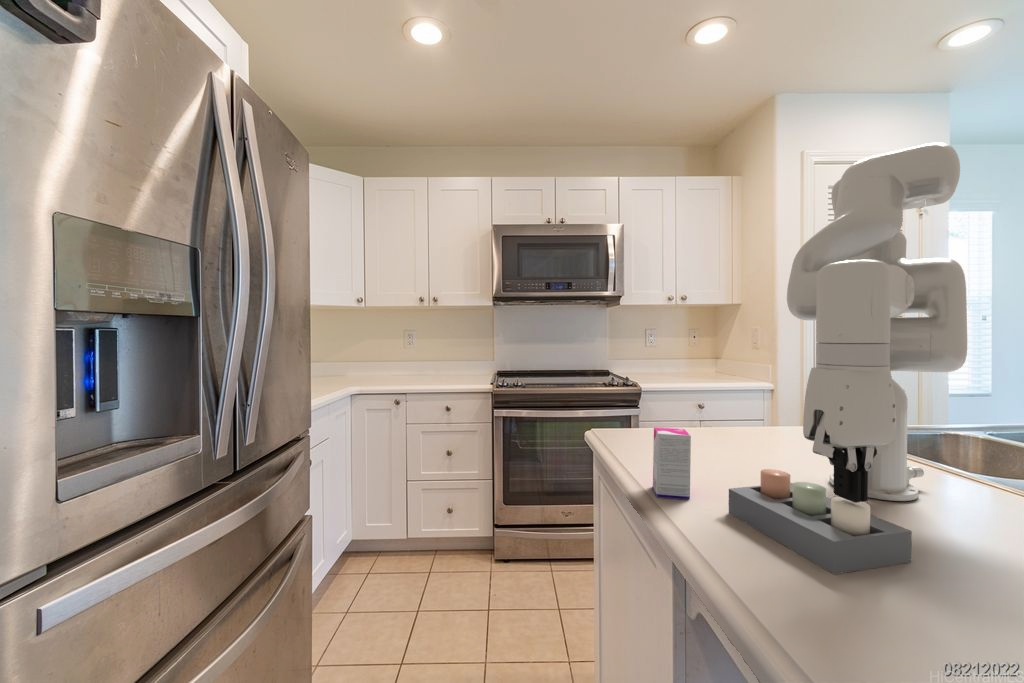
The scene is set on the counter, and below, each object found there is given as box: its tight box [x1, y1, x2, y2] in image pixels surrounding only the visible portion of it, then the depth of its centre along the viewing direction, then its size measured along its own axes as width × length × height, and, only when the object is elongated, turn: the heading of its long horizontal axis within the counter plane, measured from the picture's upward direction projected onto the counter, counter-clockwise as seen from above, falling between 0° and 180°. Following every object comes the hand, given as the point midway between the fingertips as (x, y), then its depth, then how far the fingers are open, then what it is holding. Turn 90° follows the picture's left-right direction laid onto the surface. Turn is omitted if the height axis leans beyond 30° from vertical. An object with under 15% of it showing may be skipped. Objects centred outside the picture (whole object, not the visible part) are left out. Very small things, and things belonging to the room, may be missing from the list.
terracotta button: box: [760, 468, 791, 500], centre depth 67 cm, size 4×4×4 cm
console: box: [728, 482, 913, 575], centre depth 62 cm, size 12×18×4 cm, turn 12°
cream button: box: [831, 496, 871, 536], centre depth 56 cm, size 4×4×4 cm
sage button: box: [792, 481, 827, 516], centre depth 62 cm, size 4×4×4 cm
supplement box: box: [652, 427, 692, 500], centre depth 78 cm, size 6×6×12 cm
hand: (850, 497), depth 56 cm, fingers closed
